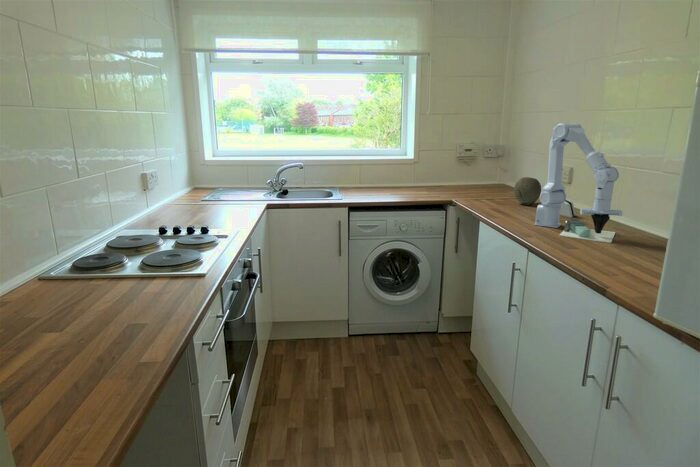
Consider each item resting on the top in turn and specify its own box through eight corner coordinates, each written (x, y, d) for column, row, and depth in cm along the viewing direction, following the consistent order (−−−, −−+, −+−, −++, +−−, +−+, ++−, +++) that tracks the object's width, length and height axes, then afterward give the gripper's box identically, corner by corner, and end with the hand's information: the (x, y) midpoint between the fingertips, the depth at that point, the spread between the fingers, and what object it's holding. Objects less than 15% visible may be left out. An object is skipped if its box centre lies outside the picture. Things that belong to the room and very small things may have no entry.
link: (565, 226, 183) (566, 220, 183) (578, 226, 183) (579, 221, 182) (578, 236, 167) (579, 230, 166) (592, 237, 166) (593, 230, 166)
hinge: (577, 216, 206) (575, 197, 202) (571, 220, 204) (569, 202, 200) (547, 210, 220) (545, 192, 216) (541, 214, 218) (539, 196, 214)
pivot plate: (559, 235, 171) (560, 224, 170) (567, 227, 185) (568, 216, 184) (610, 243, 161) (612, 231, 160) (615, 233, 175) (617, 222, 174)
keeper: (564, 231, 176) (565, 221, 175) (563, 230, 178) (565, 220, 177) (583, 233, 173) (585, 222, 172) (583, 232, 175) (585, 221, 174)
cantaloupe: (544, 206, 229) (547, 179, 225) (517, 206, 229) (520, 179, 225) (533, 202, 242) (536, 175, 238) (508, 201, 242) (511, 175, 239)
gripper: (586, 200, 162) (581, 234, 165) (628, 201, 159) (622, 236, 163) (580, 197, 169) (575, 230, 172) (619, 198, 166) (614, 231, 170)
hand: (597, 232), depth 168 cm, fingers closed
